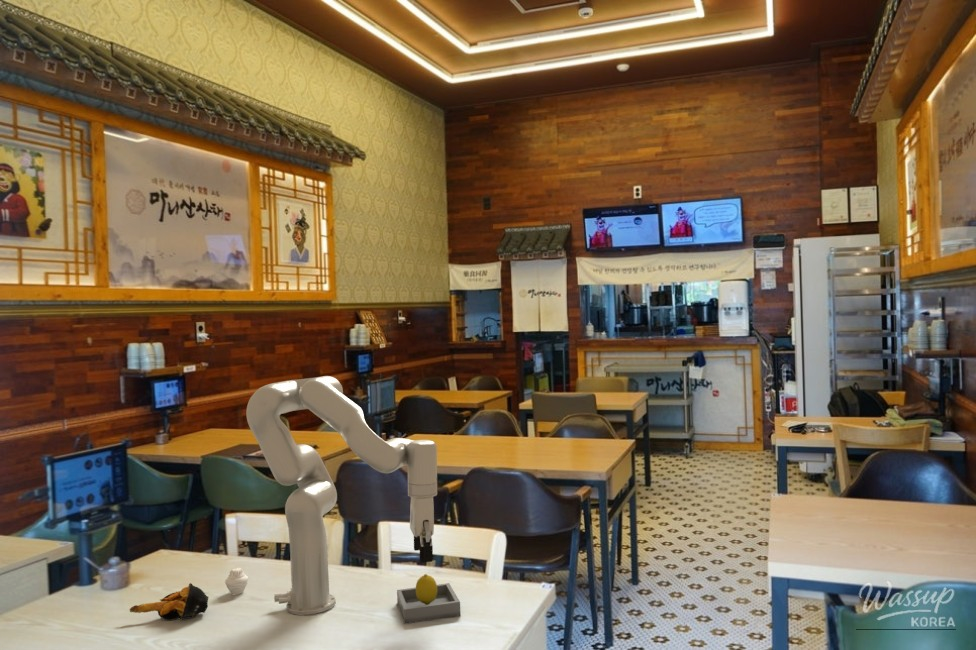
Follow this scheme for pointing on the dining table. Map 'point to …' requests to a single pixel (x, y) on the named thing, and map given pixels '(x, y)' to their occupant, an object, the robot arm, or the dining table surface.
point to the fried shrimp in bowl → (177, 604)
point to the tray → (438, 609)
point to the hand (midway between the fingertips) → (423, 555)
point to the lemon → (426, 589)
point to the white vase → (236, 581)
